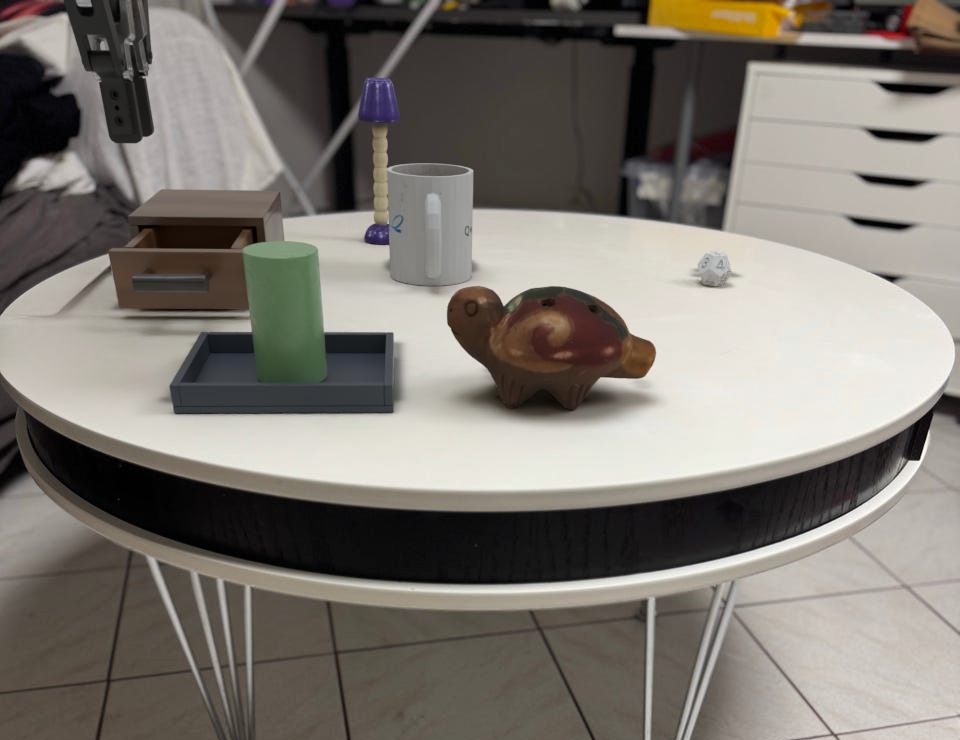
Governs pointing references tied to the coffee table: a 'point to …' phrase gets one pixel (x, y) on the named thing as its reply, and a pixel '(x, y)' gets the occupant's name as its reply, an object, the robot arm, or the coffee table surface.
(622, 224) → the coffee table surface
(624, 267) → the coffee table surface
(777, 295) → the coffee table surface
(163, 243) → the drawer
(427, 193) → the mug
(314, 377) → the can
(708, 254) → the game die
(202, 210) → the cabinet
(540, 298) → the decorative turtle
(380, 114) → the toy lamp
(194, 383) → the tray
